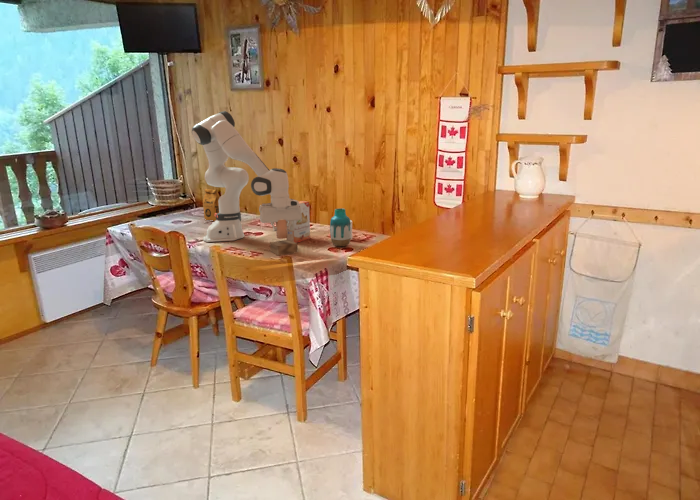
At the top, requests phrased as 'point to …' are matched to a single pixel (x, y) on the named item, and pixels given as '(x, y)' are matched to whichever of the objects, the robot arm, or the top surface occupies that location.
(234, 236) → the robot arm
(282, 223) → the canister
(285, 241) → the walnut block
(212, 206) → the coffee package
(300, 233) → the cracker box
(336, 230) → the vase
